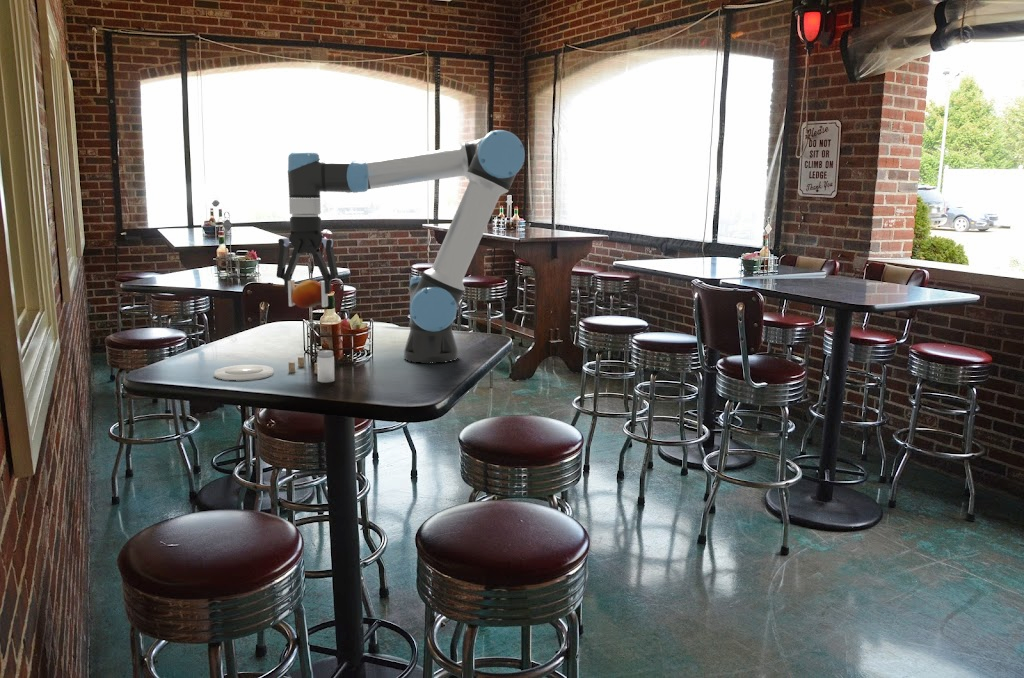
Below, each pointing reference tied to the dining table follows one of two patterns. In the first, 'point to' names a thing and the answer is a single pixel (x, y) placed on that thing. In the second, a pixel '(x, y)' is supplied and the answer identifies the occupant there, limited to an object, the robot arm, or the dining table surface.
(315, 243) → the robot arm
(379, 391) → the dining table surface
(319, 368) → the salt shaker
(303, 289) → the fruit
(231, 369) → the saucer
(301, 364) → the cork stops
